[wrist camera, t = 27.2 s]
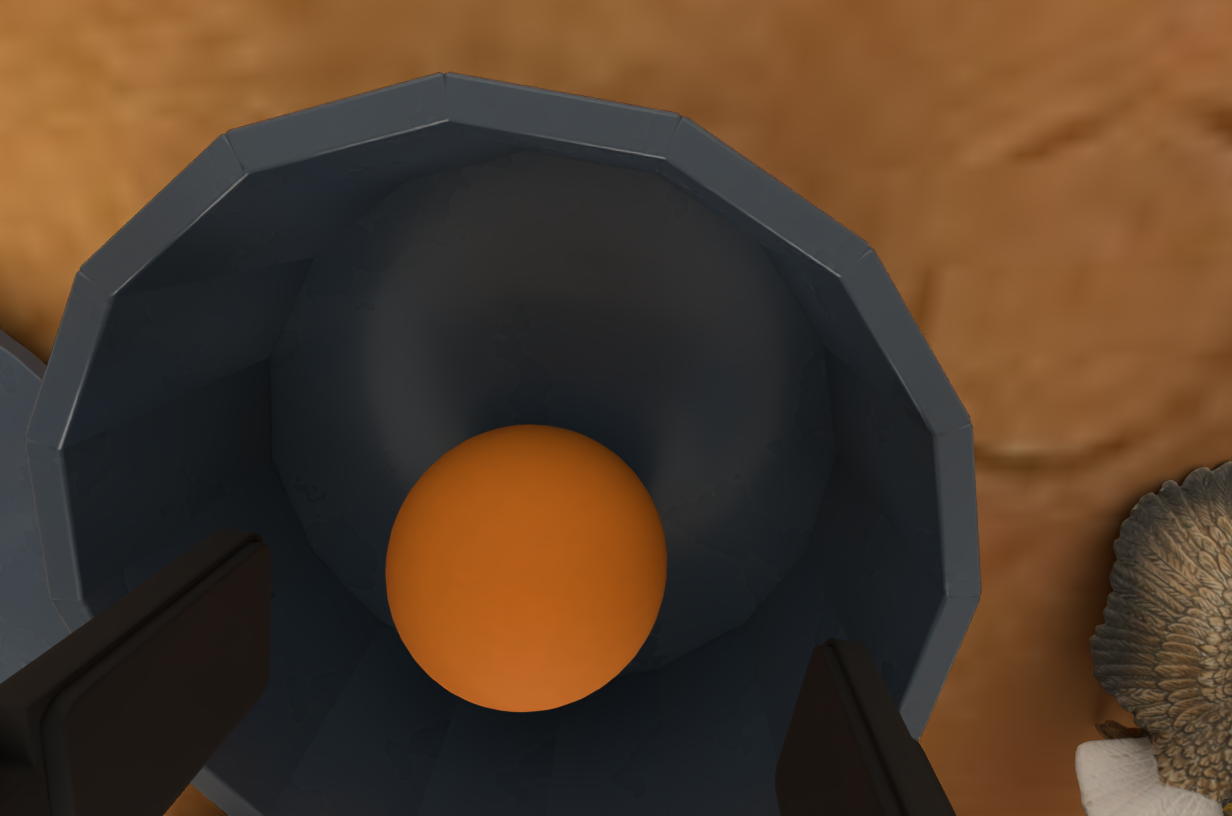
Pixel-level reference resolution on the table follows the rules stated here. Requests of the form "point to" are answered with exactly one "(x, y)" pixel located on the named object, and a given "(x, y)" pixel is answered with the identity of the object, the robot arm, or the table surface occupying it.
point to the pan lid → (21, 521)
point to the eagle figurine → (1167, 658)
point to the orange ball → (526, 568)
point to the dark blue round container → (498, 397)
